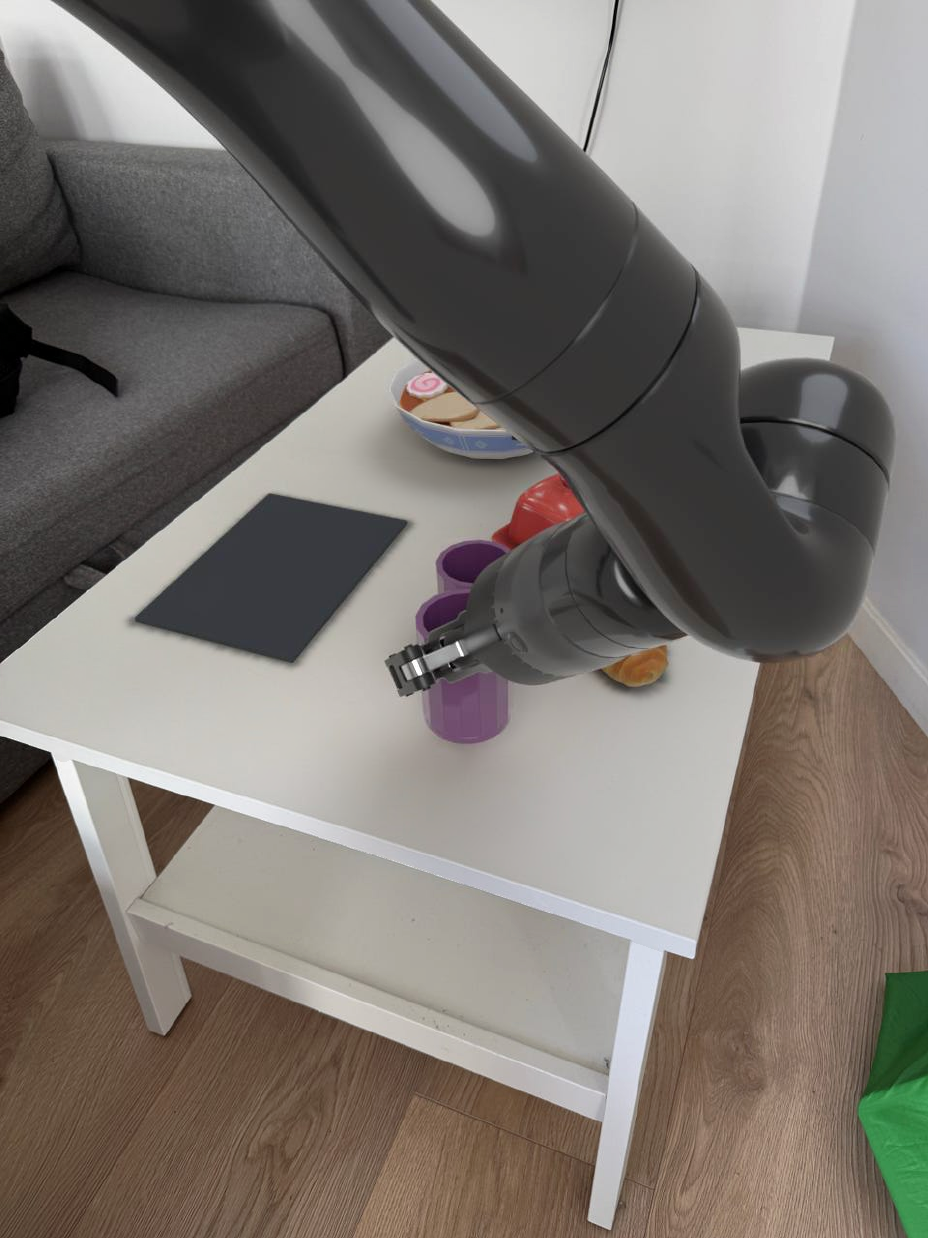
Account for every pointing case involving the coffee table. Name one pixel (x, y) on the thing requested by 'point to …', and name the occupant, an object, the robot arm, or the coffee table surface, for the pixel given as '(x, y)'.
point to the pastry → (639, 667)
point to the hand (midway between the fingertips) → (452, 652)
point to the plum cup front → (462, 685)
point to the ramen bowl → (448, 416)
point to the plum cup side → (465, 563)
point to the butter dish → (539, 511)
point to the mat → (274, 576)
